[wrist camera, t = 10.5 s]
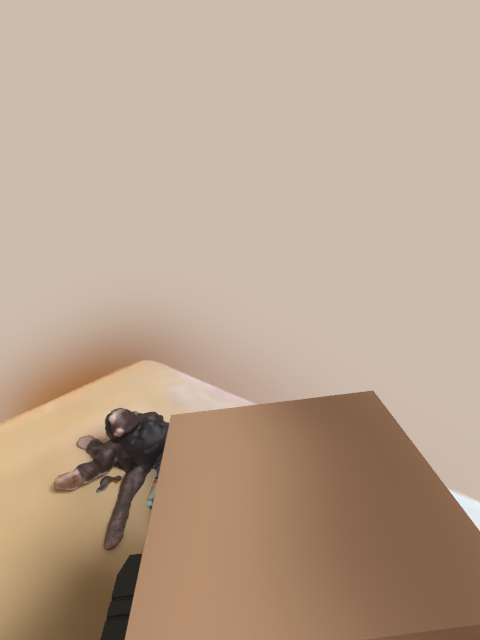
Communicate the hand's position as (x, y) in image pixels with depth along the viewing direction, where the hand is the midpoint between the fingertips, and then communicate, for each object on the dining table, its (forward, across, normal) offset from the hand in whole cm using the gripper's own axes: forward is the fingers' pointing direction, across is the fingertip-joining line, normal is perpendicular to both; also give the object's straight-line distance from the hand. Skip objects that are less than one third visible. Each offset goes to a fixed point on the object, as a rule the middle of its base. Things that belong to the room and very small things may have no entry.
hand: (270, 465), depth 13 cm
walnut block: (-5, 0, -6) cm, 8 cm away
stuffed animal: (+16, -12, -14) cm, 24 cm away
